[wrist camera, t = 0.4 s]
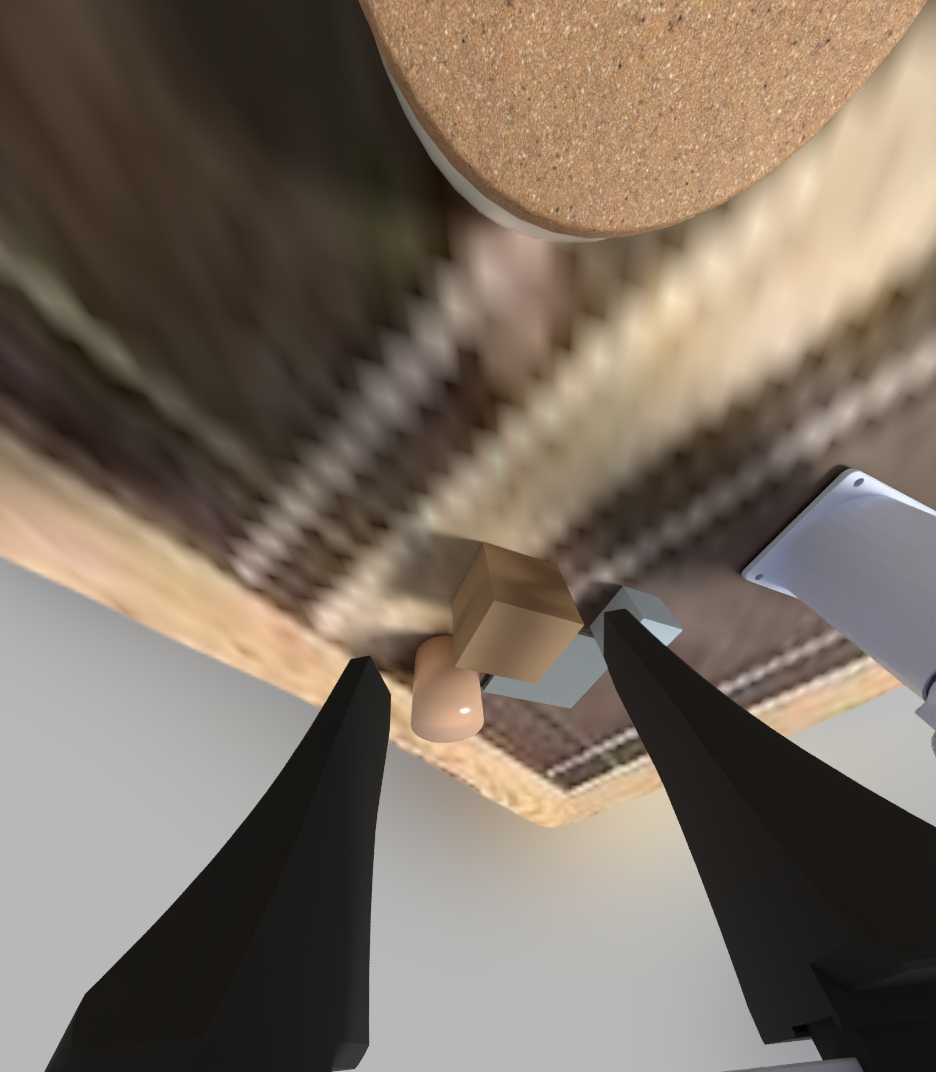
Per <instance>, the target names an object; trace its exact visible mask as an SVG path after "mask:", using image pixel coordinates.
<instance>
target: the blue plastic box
mask: <svg viewBox="0 0 936 1072" xmlns="http://www.w3.org/2000/svg"><path fill="white" fill-rule="evenodd" d="M624 608H625V609H627V610H628V611H629V612H630V613H631V614H632V615H633V616H634V617H635V618H636V619H637V620H638V621H640V622H641V623H642V624H643V625H644V626H645V627H646V628H647V629H648V630H649V631H650V632H651V633H652V634H653V635H654V636H656V637H657V638H658V639H659V640H660V641H661V642H662V643H663V644H664V645H665V646H667V645H668V644H669V643H670V642H671V641H672V640H673V639H674V638H675V637H676V636H677V635H678V634H679V633H680V632H681V631H682V630H683V629H682V627H681V626H680V625H679V623H678V622H677V621H676V619H675V618H674V617H673V615H672V614H671V613H670V611H669V610H668V609H667V607H666V606H665V605H664V603H663V602H662V601H661V599H660V598H659V597H657V596H654V595H651V594H647V593H644V592H641V591H638V590H635V589H632V588H628V587H625V586H622V588H621V589H620V590H619V591H618V592H617V594H616V595H615V596H614V597H613V599H612V600H611V601H610V602H609V603H608V605H607V606H606V607H605V608H604V610H603V611H602V612H601V613H600V614H599V616H598V617H597V618H596V619H595V621H594V622H593V623H592V624H591V625H590V629H591V631H592V634H593V636H594V638H595V640H596V642H597V644H598V647H599V649H600V651H601V653H602V655H603V653H604V612H607V611H613V610H618V609H624ZM603 657H604V656H603ZM604 660H605V659H604Z"/></svg>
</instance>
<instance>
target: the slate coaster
mask: <svg viewBox="0 0 936 1072" xmlns="http://www.w3.org/2000/svg"><path fill="white" fill-rule="evenodd" d="M607 669H608V667H607V665H606V662H605V660H604V657H603V655H602V653H601V651H600V649H599V647H598V644H597V642H596V640H595V638H594V636H593V634H591V633H587V632H583V631H579V632H578V633H577V635H576V636H575V637H574V638H573V640H572V641H571V642H570V643H569V645H568V646H567V647H566V648H565V650H564V651H563V652H562V653H561V655H560V656H559V657H558V658H557V660H556V661H555V662H554V663H553V665H552V666H551V667H550V668H549V670H548V671H547V672H546V673H545V675H544V676H543V677H542V678H541V679H540V681H539V682H538V683H537V684H534V683H529V682H524V681H519V680H515V679H510V678H505V677H500V676H496V675H490V677H489V678H488V680H487V681H486V683H485V684H484V686H483V692H488V693H493V694H498V695H504V696H509V697H514V698H519V699H524V700H529V701H534V702H539V703H544V704H550V705H555V706H560V707H565V708H570V709H571V707H572V706H573V705H574V704H575V703H576V702H577V701H578V700H579V699H580V698H581V697H582V696H583V695H584V694H585V692H586V691H587V690H588V689H589V688H590V687H591V686H592V685H593V684H594V683H595V682H596V681H597V680H598V678H599V677H600V676H601V675H602V674H603V673H604V672H605V671H606V670H607Z"/></svg>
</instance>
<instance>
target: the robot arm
mask: <svg viewBox="0 0 936 1072" xmlns="http://www.w3.org/2000/svg"><path fill="white" fill-rule="evenodd" d="M742 576H743V577H744V578H745V579H746V580H748V581H751V582H753V583H756V584H759V585H762V586H764V587H767V588H770V589H773V590H776V591H778V592H781V593H784V594H787V595H789V596H792V597H795V598H798V599H800V600H801V601H802V602H803V603H805V604H806V605H807V606H808V607H809V608H811V609H812V610H813V611H814V612H816V613H817V614H818V615H819V616H821V617H822V618H823V619H824V620H825V621H827V622H828V623H829V624H830V625H832V626H833V627H834V628H835V629H836V630H838V631H839V632H840V633H841V634H843V635H844V636H845V637H846V638H847V639H849V640H850V641H851V642H852V643H854V644H855V645H856V646H857V647H858V648H860V649H861V650H862V651H863V652H865V653H866V654H867V655H868V656H870V657H871V658H872V659H873V660H874V661H876V662H877V663H878V664H879V665H881V666H882V667H883V668H884V669H885V670H887V671H888V672H889V673H890V674H892V675H893V676H894V677H895V678H896V679H898V680H899V681H900V682H901V683H903V684H904V685H905V686H906V687H908V688H909V689H910V690H911V691H912V692H914V693H915V694H916V695H917V696H919V697H920V698H921V699H922V700H923V701H925V703H924V704H923V705H922V706H921V707H920V708H918V709H917V710H916V711H915V713H916V714H917V715H918V716H919V717H920V718H921V719H923V720H924V721H925V722H926V723H927V724H928V725H930V726H931V727H932V728H933V729H934V730H935V733H934V734H933V737H932V738H931V743H932V748H933V751H934V754H935V756H936V511H935V510H933V509H931V508H929V507H927V506H925V505H923V504H921V503H920V502H918V501H916V500H914V499H912V498H910V497H908V496H906V495H904V494H903V493H901V492H899V491H897V490H895V489H893V488H891V487H889V486H888V485H886V484H884V483H882V482H880V481H878V480H876V479H874V478H873V477H871V476H869V475H867V474H865V473H863V472H861V471H859V470H856V469H853V468H851V469H847V470H845V471H843V472H842V473H841V474H840V475H839V476H838V477H837V478H836V479H835V480H834V481H833V482H832V483H831V484H830V485H829V486H828V487H827V488H826V489H825V490H824V491H823V492H822V493H821V494H820V495H819V496H818V497H817V498H816V499H815V500H814V501H813V502H812V503H811V504H810V505H809V506H808V507H807V508H806V509H805V510H804V511H803V512H801V513H800V514H799V515H798V516H797V517H796V518H795V519H794V520H793V521H792V522H791V523H790V524H789V525H788V526H787V527H786V528H785V529H784V530H783V531H782V532H781V533H780V534H779V535H778V536H777V537H776V538H775V539H774V540H773V541H772V542H771V543H770V544H769V545H768V546H767V547H766V548H765V549H764V550H763V551H762V552H761V553H760V554H759V555H758V556H757V557H756V558H755V559H754V560H753V561H752V562H751V563H750V564H749V565H748V566H747V567H746V568H745V569H744V570H743V572H742ZM603 656H604V659H605V662H606V665H607V667H608V670H609V673H610V675H611V678H612V680H613V683H614V686H615V688H616V691H617V693H618V695H619V697H620V699H621V701H622V703H623V705H624V707H625V709H626V710H627V712H628V714H629V716H630V718H631V720H632V722H633V724H634V726H635V728H636V730H637V732H638V734H639V736H640V738H641V740H642V742H643V744H644V746H645V748H646V750H647V752H648V754H649V756H650V758H651V760H652V762H653V764H654V766H655V768H656V770H657V772H658V774H659V776H660V778H661V780H662V783H663V785H664V787H665V789H666V792H667V794H668V797H669V799H670V801H671V804H672V806H673V809H674V811H675V814H676V816H677V819H678V821H679V824H680V826H681V829H682V831H683V834H684V836H685V839H686V841H687V843H688V846H689V849H690V851H691V854H692V856H693V859H694V861H695V864H696V866H697V869H698V872H699V874H700V877H701V879H702V882H703V885H704V887H705V890H706V893H707V895H708V898H709V901H710V903H711V906H712V909H713V911H714V914H715V917H716V919H717V922H718V925H719V927H720V930H721V933H722V936H723V938H724V941H725V944H726V947H727V949H728V952H729V954H730V958H731V960H732V963H733V966H734V969H735V972H736V974H737V977H738V980H739V983H740V986H741V989H742V992H743V994H744V997H745V1000H746V1003H747V1006H748V1008H749V1011H750V1013H751V1015H752V1017H753V1020H754V1022H755V1025H756V1027H757V1029H758V1031H759V1034H760V1036H761V1038H762V1040H763V1042H764V1044H774V1043H782V1042H792V1041H800V1040H809V1039H812V1040H813V1042H814V1044H815V1045H816V1047H817V1050H818V1052H819V1053H820V1056H821V1057H822V1059H823V1060H822V1061H813V1062H804V1063H796V1064H786V1065H778V1066H770V1067H760V1068H751V1069H743V1070H733V1071H725V1072H936V827H935V826H933V825H931V824H929V823H927V822H925V821H924V820H922V819H920V818H918V817H916V816H914V815H912V814H911V813H909V812H907V811H906V810H904V809H902V808H900V807H899V806H897V805H895V804H893V803H891V802H890V801H888V800H886V799H885V798H883V797H881V796H879V795H878V794H876V793H874V792H872V791H871V790H869V789H867V788H865V787H864V786H862V785H860V784H859V783H857V782H855V781H854V780H852V779H851V778H849V777H847V776H846V775H844V774H842V773H841V772H839V771H838V770H836V769H834V768H832V767H831V766H829V765H828V764H826V763H824V762H823V761H821V760H819V759H818V758H816V757H815V756H813V755H811V754H810V753H808V752H807V751H805V750H803V749H802V748H800V747H799V746H797V745H796V744H794V743H793V742H791V741H790V740H788V739H787V738H785V737H784V736H782V735H781V734H779V733H778V732H776V731H775V730H773V729H772V728H770V727H769V726H767V725H766V724H765V723H763V722H762V721H760V720H759V719H757V718H756V717H755V716H753V715H752V714H750V713H749V712H748V711H746V710H745V709H743V708H742V707H741V706H739V705H738V704H737V703H735V702H734V701H733V700H731V699H730V698H729V697H727V696H726V695H725V694H723V693H722V692H721V691H720V690H718V689H717V688H716V687H714V686H713V685H712V684H711V683H709V682H708V681H707V680H706V679H704V678H703V677H702V676H701V675H699V674H698V673H697V672H696V671H695V670H693V669H692V668H691V667H690V666H689V665H687V664H686V663H685V662H684V661H683V660H682V659H680V658H679V657H678V656H677V655H676V654H674V653H673V652H672V651H671V650H670V649H669V648H668V647H667V646H665V645H664V644H663V643H662V642H661V641H660V640H659V639H658V638H657V637H656V636H654V635H653V634H652V633H651V632H650V631H649V630H648V629H647V628H646V627H645V626H644V625H643V624H642V623H641V622H640V621H638V620H637V619H636V618H635V617H634V616H633V615H632V614H631V613H630V612H629V611H628V610H627V609H625V608H624V609H618V610H613V611H607V612H604V653H603ZM390 712H391V694H390V692H389V690H388V688H387V686H386V684H385V683H384V681H383V679H382V677H381V675H380V673H379V671H378V670H377V668H376V666H375V664H374V662H373V660H372V658H371V656H365V657H360V658H355V659H351V660H350V661H349V663H348V665H347V666H346V668H345V670H344V671H343V673H342V675H341V677H340V678H339V680H338V682H337V683H336V685H335V687H334V689H333V690H332V692H331V694H330V695H329V697H328V699H327V701H326V702H325V704H324V706H323V707H322V709H321V711H320V712H319V714H318V715H317V717H316V719H315V721H314V722H313V724H312V726H311V727H310V728H309V730H308V732H307V733H306V735H305V736H304V738H303V740H302V741H301V743H300V744H299V746H298V747H297V749H296V750H295V752H294V753H293V754H292V756H291V758H290V759H289V760H288V762H287V763H286V765H285V767H284V768H283V769H282V771H281V772H280V774H279V775H278V776H277V778H276V779H275V781H274V782H273V784H272V785H271V786H270V788H269V789H268V790H267V792H266V793H265V794H264V796H263V797H262V798H261V800H260V801H259V802H258V804H257V805H256V806H255V808H254V809H253V810H252V812H251V813H250V814H249V815H248V817H247V818H246V819H245V820H244V822H243V823H242V824H241V825H240V827H239V828H238V829H237V830H236V832H235V833H234V834H233V835H232V837H231V838H230V839H229V840H228V841H227V843H226V844H225V845H224V846H223V848H222V849H221V850H220V851H219V852H218V853H217V855H216V856H215V857H214V858H213V860H212V861H211V862H210V863H209V864H208V865H207V866H206V867H205V869H204V870H203V871H202V872H201V873H200V874H199V875H198V876H197V878H196V879H195V880H194V881H193V882H192V883H191V884H190V885H189V886H188V888H187V889H186V890H185V891H184V892H183V893H182V895H180V897H179V898H178V899H177V900H176V901H175V902H174V903H173V905H171V906H170V908H169V909H168V910H167V911H166V912H165V913H164V914H163V915H162V916H161V917H160V918H159V919H158V920H157V922H156V923H155V924H154V925H153V926H152V927H151V928H150V929H149V930H148V931H147V932H146V933H145V934H144V935H143V936H142V937H141V938H140V939H139V940H138V941H137V942H136V943H135V944H134V945H133V946H132V947H131V948H130V949H129V950H128V951H127V952H126V954H124V955H123V956H122V957H121V959H120V960H119V961H118V962H117V963H116V964H115V965H114V966H113V967H112V968H111V969H110V970H109V971H108V972H107V973H106V974H105V975H104V976H103V977H102V978H101V979H100V980H99V981H98V982H97V983H96V984H95V985H94V986H93V987H92V988H91V989H90V990H89V991H88V992H87V993H86V994H85V995H84V997H83V999H82V1001H81V1003H80V1004H79V1006H78V1008H77V1010H76V1012H75V1014H74V1016H73V1018H72V1020H71V1022H70V1024H69V1026H68V1028H67V1029H66V1031H65V1033H64V1035H63V1037H62V1039H61V1041H60V1043H59V1045H58V1047H57V1049H56V1051H55V1053H54V1055H53V1057H52V1058H51V1060H50V1062H49V1064H48V1066H47V1068H46V1070H45V1072H333V1071H341V1070H350V1069H355V1068H356V1067H357V1065H358V1064H359V1063H360V1061H361V1059H362V1058H363V1056H364V1054H365V1052H366V1050H367V1048H368V1046H369V959H370V919H371V898H372V877H373V860H374V844H375V830H376V821H377V812H378V806H379V798H380V792H381V786H382V779H383V772H384V765H385V759H386V752H387V745H388V738H389V731H390Z"/></svg>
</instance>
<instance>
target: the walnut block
mask: <svg viewBox="0 0 936 1072" xmlns="http://www.w3.org/2000/svg"><path fill="white" fill-rule="evenodd" d="M452 615H453V639H454V663H455V667H458V668H462V669H467V670H472V671H477V672H481V673H486V674H491V675H496V676H500V677H505V678H510V679H515V680H519V681H524V682H529V683H534V684H537V683H538V682H539V681H540V679H541V678H542V677H543V676H544V675H545V673H546V672H547V671H548V670H549V668H550V667H551V666H552V665H553V663H554V662H555V661H556V660H557V658H558V657H559V656H560V655H561V653H562V652H563V651H564V650H565V648H566V647H567V646H568V645H569V643H570V642H571V641H572V640H573V638H574V637H575V636H576V635H577V633H578V632H579V631H580V630H581V628H582V627H583V626H584V623H583V621H582V619H581V616H580V614H579V612H578V610H577V608H576V605H575V603H574V601H573V599H572V597H571V594H570V592H569V590H568V588H567V586H566V583H565V581H564V579H563V577H562V575H561V572H560V570H559V568H558V566H557V565H555V564H552V563H549V562H546V561H543V560H539V559H536V558H533V557H530V556H527V555H524V554H520V553H517V552H514V551H511V550H508V549H504V548H501V547H498V546H495V545H492V544H489V543H485V542H483V543H482V545H481V547H480V549H479V551H478V553H477V555H476V557H475V559H474V561H473V563H472V565H471V567H470V569H469V571H468V572H467V574H466V576H465V578H464V580H463V582H462V584H461V586H460V588H459V590H458V592H457V594H456V596H455V598H454V599H453V601H452Z"/></svg>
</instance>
